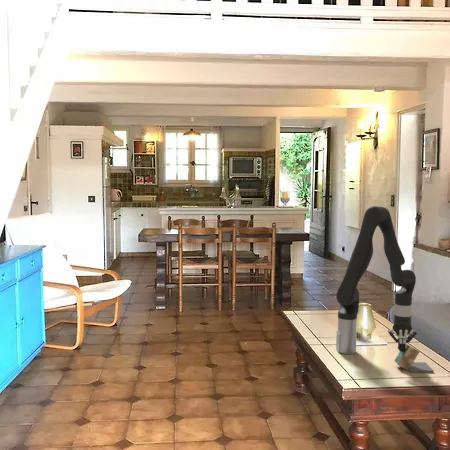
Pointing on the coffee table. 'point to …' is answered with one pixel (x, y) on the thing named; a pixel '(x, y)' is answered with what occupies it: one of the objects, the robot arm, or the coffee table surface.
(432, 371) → the rubber pad
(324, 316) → the coffee table surface
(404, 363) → the oak block
